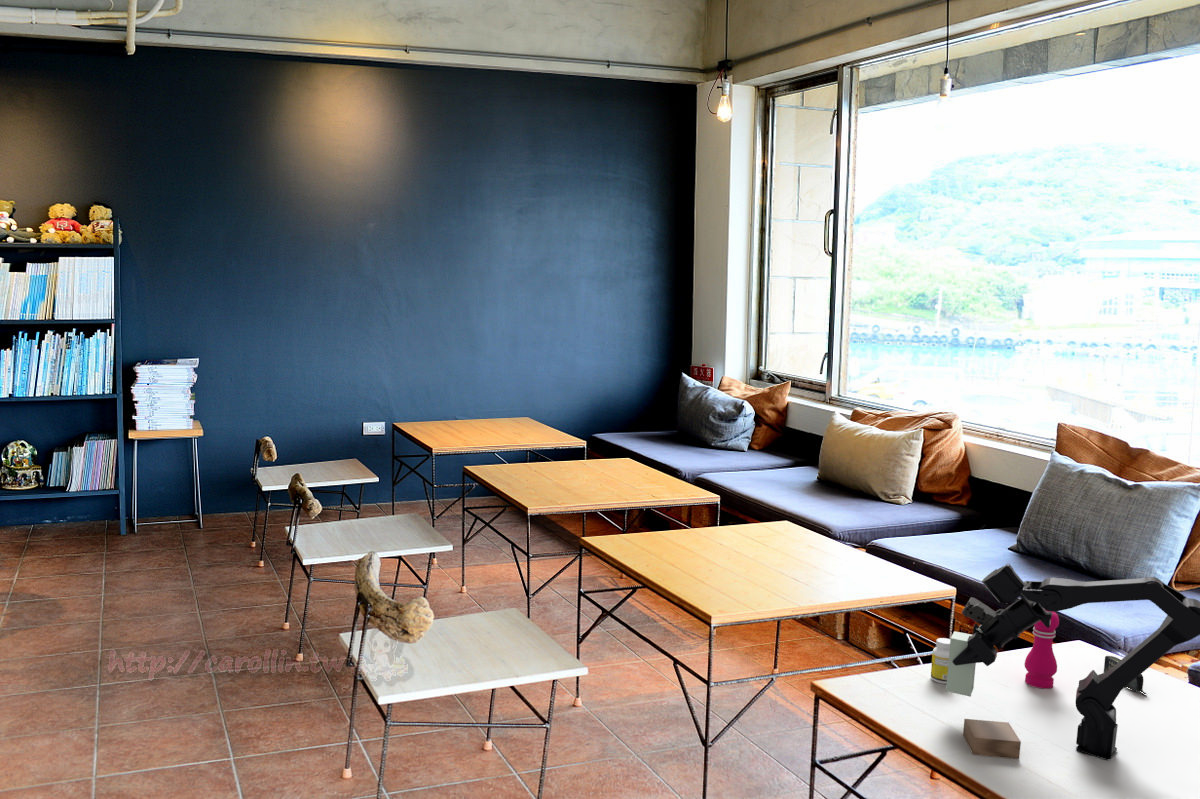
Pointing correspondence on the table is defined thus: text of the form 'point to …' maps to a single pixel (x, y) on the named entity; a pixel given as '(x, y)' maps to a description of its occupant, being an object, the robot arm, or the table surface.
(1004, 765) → the table surface
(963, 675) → the tall block
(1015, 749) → the walnut block
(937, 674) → the supplement bottle
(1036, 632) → the pepper mill
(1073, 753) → the table surface
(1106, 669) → the mobile phone
